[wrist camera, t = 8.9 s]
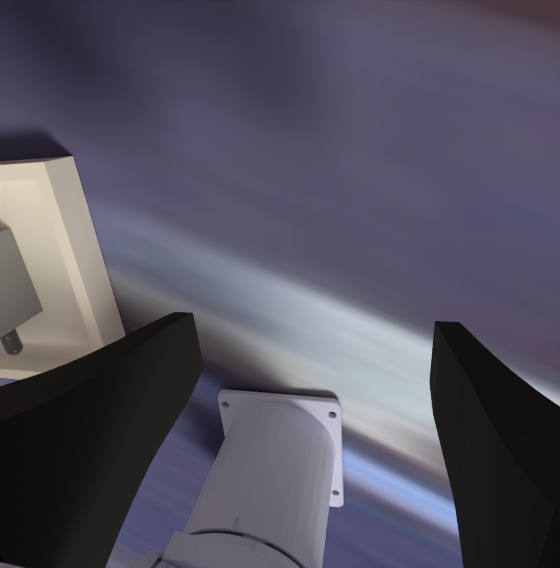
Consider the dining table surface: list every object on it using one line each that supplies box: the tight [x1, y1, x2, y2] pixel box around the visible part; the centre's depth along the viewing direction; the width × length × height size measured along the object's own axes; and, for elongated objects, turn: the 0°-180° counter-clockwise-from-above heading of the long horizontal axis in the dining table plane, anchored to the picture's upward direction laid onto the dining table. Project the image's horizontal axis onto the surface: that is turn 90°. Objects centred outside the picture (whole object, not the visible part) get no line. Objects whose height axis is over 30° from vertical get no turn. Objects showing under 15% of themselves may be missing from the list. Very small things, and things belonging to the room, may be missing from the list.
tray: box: [0, 156, 126, 380], centre depth 25 cm, size 14×14×2 cm
